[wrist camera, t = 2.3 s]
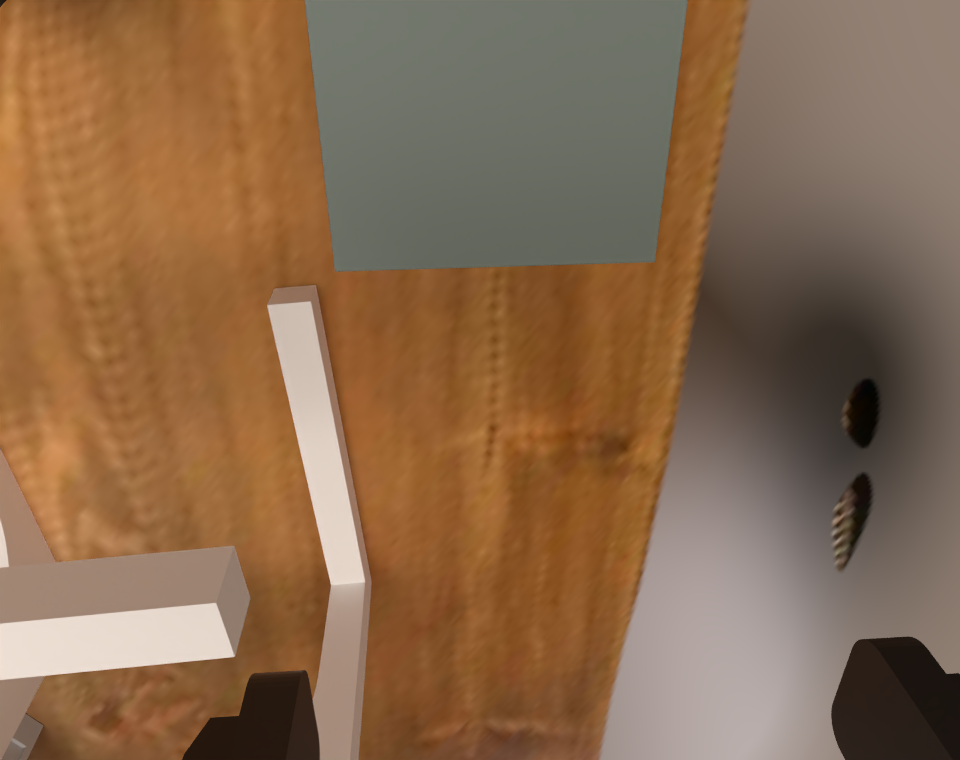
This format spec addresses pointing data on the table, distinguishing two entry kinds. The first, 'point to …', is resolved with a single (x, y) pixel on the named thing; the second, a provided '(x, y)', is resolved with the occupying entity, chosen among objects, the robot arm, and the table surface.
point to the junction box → (494, 129)
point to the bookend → (194, 571)
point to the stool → (23, 739)
